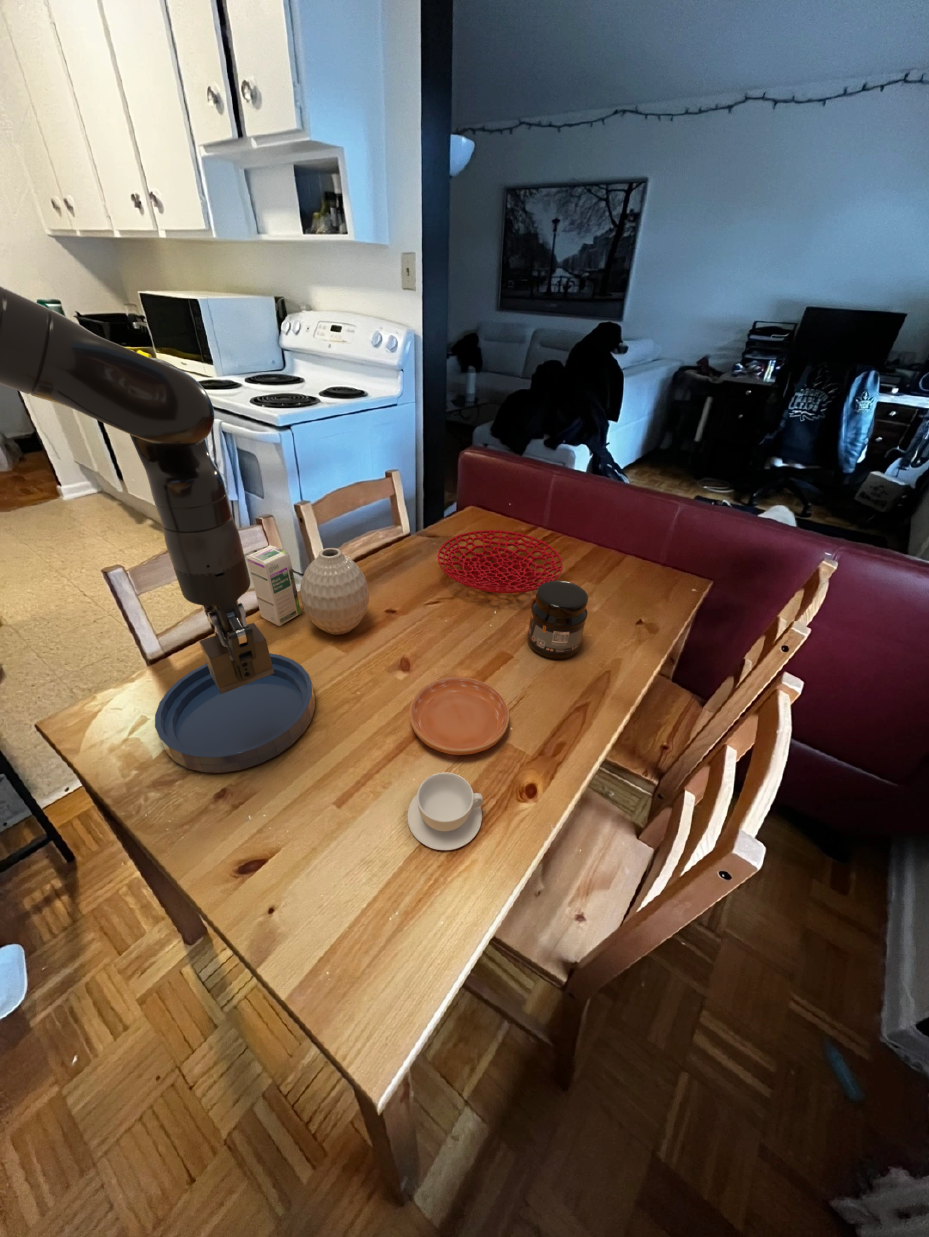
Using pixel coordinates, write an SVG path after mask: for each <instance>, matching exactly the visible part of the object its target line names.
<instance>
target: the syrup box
mask: <svg viewBox="0 0 929 1237" xmlns="http://www.w3.org/2000/svg"><path fill="white" fill-rule="evenodd" d="M245 560H246V564H247V567H248V571H249V575H250V579H251V581H252V585H253V590H254V593H255V597H256V602H257V605H258V609H259V612H260V616H261V618H263V619H264V620H266V621H268V622H269V623H271V624H274V625H276V626H278V627H281V626H283V625H284V624H285V623H287V622H289V621H290V620H293V619H294V618H297V617H298V616H300V615H301V614H302V611H301V605H300V601H299V600H300V599H299V596H298V591H297V590H298V589H297V584H296V579H295V574H294V569H293V565H292V559H291V554H290V552H288V550H287V551H286V550H284V549H283V548H280V547H278V546H275V545H271V544H269V545H268V546H266V547H264V548H262V549H259V550H257V551H255V552H253V553H251V554H247V555H246V556H245Z"/></svg>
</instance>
